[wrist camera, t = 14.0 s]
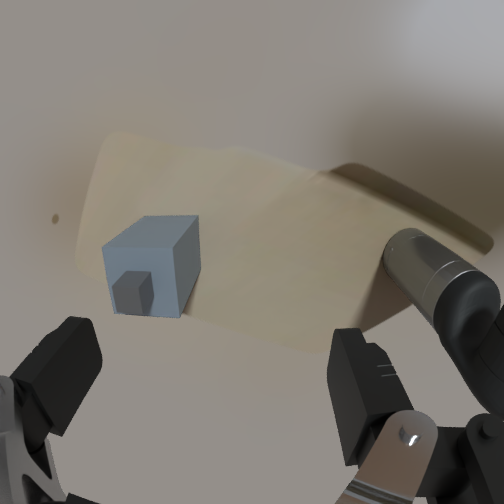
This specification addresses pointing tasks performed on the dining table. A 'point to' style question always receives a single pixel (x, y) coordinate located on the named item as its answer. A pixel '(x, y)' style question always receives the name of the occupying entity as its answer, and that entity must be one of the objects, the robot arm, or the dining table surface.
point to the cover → (153, 266)
